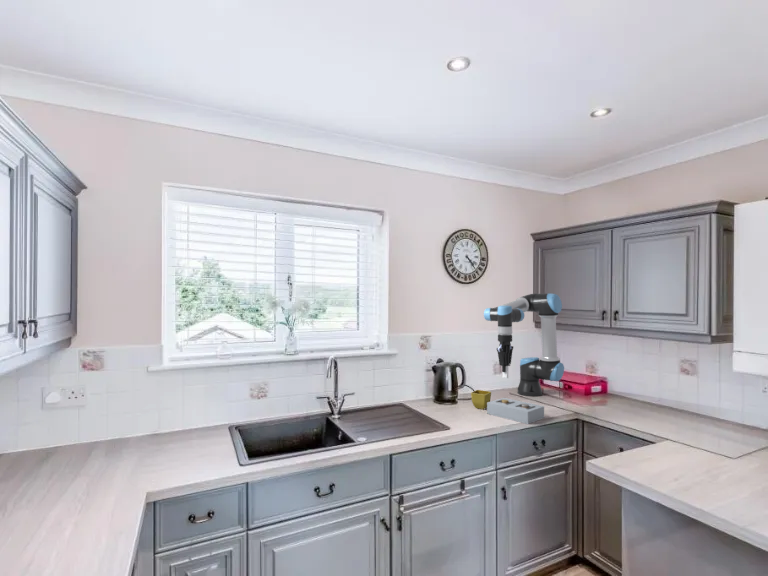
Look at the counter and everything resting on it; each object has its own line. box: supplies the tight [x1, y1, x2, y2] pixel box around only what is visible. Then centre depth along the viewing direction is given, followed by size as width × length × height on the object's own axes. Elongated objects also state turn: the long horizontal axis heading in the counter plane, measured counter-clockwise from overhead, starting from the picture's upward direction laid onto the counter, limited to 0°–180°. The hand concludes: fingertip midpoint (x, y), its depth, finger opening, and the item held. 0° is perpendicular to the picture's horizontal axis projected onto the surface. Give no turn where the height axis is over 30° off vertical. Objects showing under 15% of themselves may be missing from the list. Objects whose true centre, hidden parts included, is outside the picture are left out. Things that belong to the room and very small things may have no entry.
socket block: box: [486, 397, 545, 425], centre depth 224 cm, size 16×24×6 cm, turn 41°
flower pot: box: [470, 389, 492, 410], centre depth 239 cm, size 9×9×9 cm
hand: (505, 377), depth 229 cm, fingers closed
